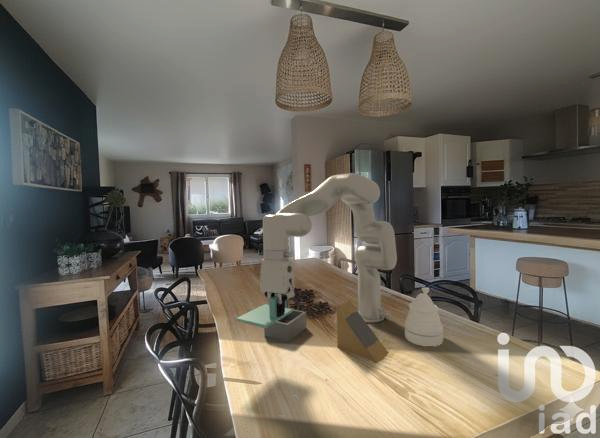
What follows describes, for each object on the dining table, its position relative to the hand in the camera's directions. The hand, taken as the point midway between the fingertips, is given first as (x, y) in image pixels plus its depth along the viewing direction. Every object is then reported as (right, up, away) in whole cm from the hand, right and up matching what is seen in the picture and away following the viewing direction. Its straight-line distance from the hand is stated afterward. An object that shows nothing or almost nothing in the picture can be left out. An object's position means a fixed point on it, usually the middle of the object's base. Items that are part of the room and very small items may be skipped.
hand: (277, 314), depth 87 cm
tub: (+2, -15, +23) cm, 28 cm away
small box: (-2, -15, +41) cm, 43 cm away
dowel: (+3, -14, +26) cm, 30 cm away
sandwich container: (+28, -16, +9) cm, 34 cm away
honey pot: (+52, -15, +17) cm, 57 cm away
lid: (-4, -1, +2) cm, 5 cm away
